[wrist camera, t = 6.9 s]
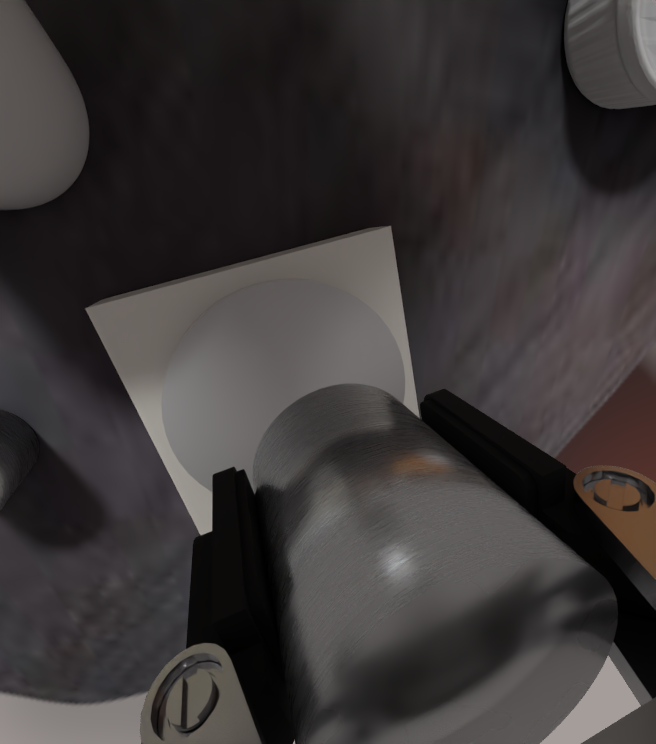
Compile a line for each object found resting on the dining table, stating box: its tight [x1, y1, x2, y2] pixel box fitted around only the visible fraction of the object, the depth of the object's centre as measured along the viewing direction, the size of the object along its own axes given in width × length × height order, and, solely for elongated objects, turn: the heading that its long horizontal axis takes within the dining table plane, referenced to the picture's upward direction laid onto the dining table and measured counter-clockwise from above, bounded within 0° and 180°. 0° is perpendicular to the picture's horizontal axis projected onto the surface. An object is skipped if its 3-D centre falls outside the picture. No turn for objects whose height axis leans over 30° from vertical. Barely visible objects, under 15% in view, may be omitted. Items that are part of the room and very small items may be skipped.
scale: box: [85, 226, 420, 535], centre depth 24 cm, size 22×16×4 cm
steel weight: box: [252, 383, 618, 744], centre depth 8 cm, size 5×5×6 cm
